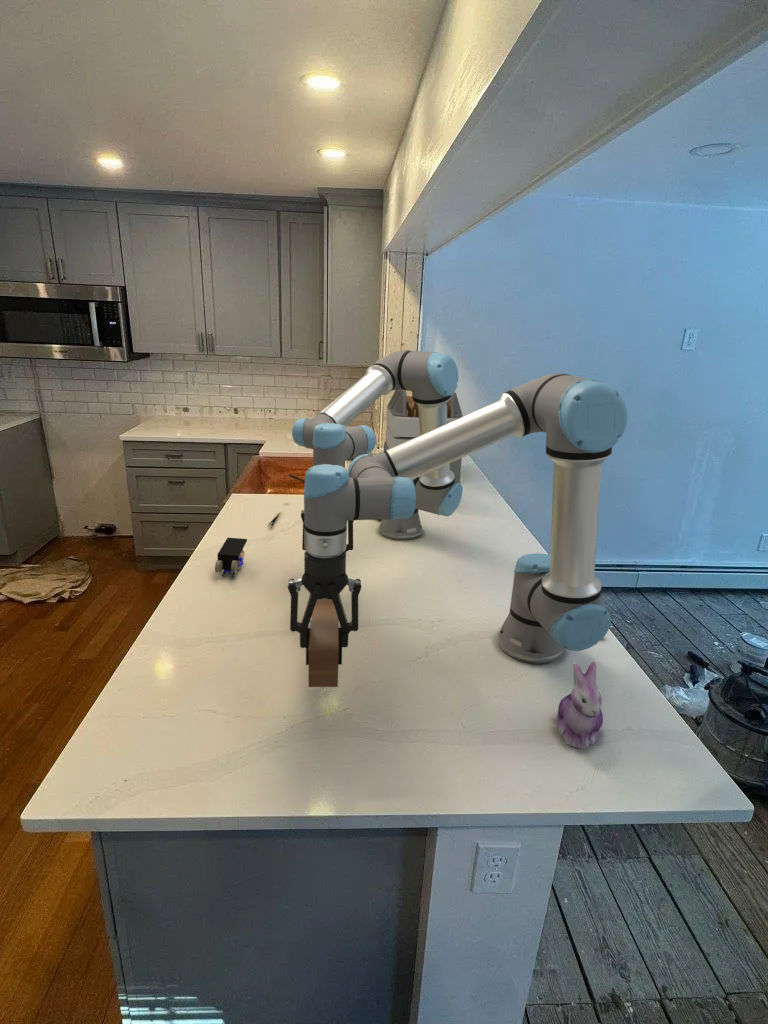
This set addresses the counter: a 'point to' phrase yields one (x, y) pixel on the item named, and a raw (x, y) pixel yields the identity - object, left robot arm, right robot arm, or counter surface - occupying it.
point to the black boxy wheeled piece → (230, 556)
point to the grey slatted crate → (414, 422)
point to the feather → (273, 520)
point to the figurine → (581, 709)
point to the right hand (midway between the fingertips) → (324, 660)
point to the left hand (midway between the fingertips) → (327, 574)
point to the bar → (324, 645)
